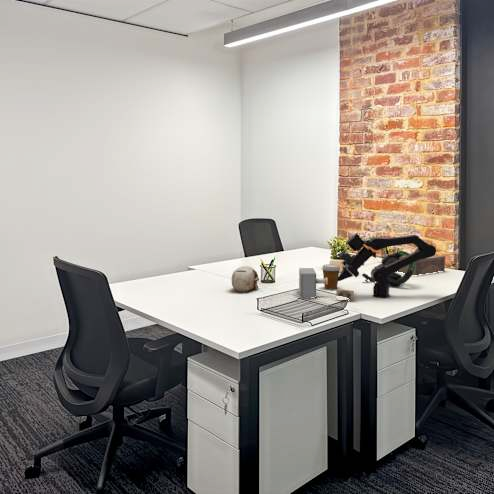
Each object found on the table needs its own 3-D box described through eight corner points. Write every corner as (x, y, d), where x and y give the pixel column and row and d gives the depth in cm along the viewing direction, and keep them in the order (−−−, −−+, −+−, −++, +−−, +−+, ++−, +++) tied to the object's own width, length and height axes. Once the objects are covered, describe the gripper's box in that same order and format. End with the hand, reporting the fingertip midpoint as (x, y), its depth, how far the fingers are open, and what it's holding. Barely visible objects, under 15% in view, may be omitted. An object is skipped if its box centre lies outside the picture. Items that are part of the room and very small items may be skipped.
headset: (378, 297, 289) (420, 280, 267) (360, 289, 283) (400, 270, 262) (378, 269, 298) (418, 250, 276) (360, 261, 293) (399, 240, 271)
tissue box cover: (415, 276, 306) (415, 259, 304) (396, 273, 318) (396, 257, 317) (444, 272, 319) (445, 256, 318) (425, 269, 331) (425, 253, 330)
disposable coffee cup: (325, 290, 268) (325, 267, 267) (319, 287, 277) (319, 264, 276) (342, 289, 270) (343, 266, 268) (336, 286, 279) (336, 263, 278)
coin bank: (255, 285, 282) (255, 261, 279) (264, 295, 266) (264, 270, 263) (227, 288, 278) (226, 263, 275) (234, 298, 262) (234, 272, 259)
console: (314, 291, 266) (314, 268, 265) (317, 298, 250) (317, 273, 249) (299, 291, 267) (299, 268, 265) (301, 298, 251) (301, 273, 249)
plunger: (326, 283, 256) (326, 276, 255) (327, 285, 252) (327, 278, 252) (314, 283, 256) (314, 276, 256) (315, 285, 253) (315, 278, 252)
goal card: (353, 301, 244) (353, 290, 243) (352, 301, 242) (352, 291, 242) (336, 299, 247) (337, 289, 247) (336, 300, 246) (336, 289, 245)
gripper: (346, 243, 261) (323, 265, 262) (352, 248, 242) (328, 272, 244) (361, 259, 261) (339, 281, 263) (369, 265, 243) (344, 288, 245)
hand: (337, 280), depth 254 cm, fingers closed
